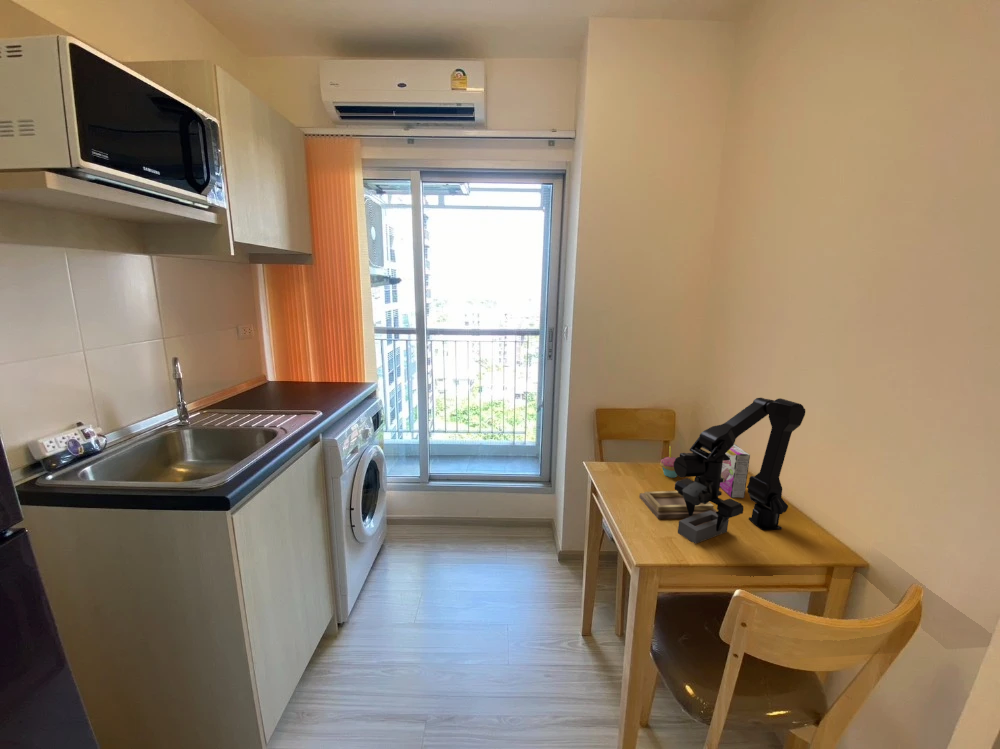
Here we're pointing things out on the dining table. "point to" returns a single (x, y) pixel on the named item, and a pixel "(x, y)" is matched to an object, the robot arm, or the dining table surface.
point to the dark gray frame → (700, 527)
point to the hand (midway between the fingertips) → (703, 523)
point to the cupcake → (668, 465)
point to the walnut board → (671, 505)
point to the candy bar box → (735, 472)
